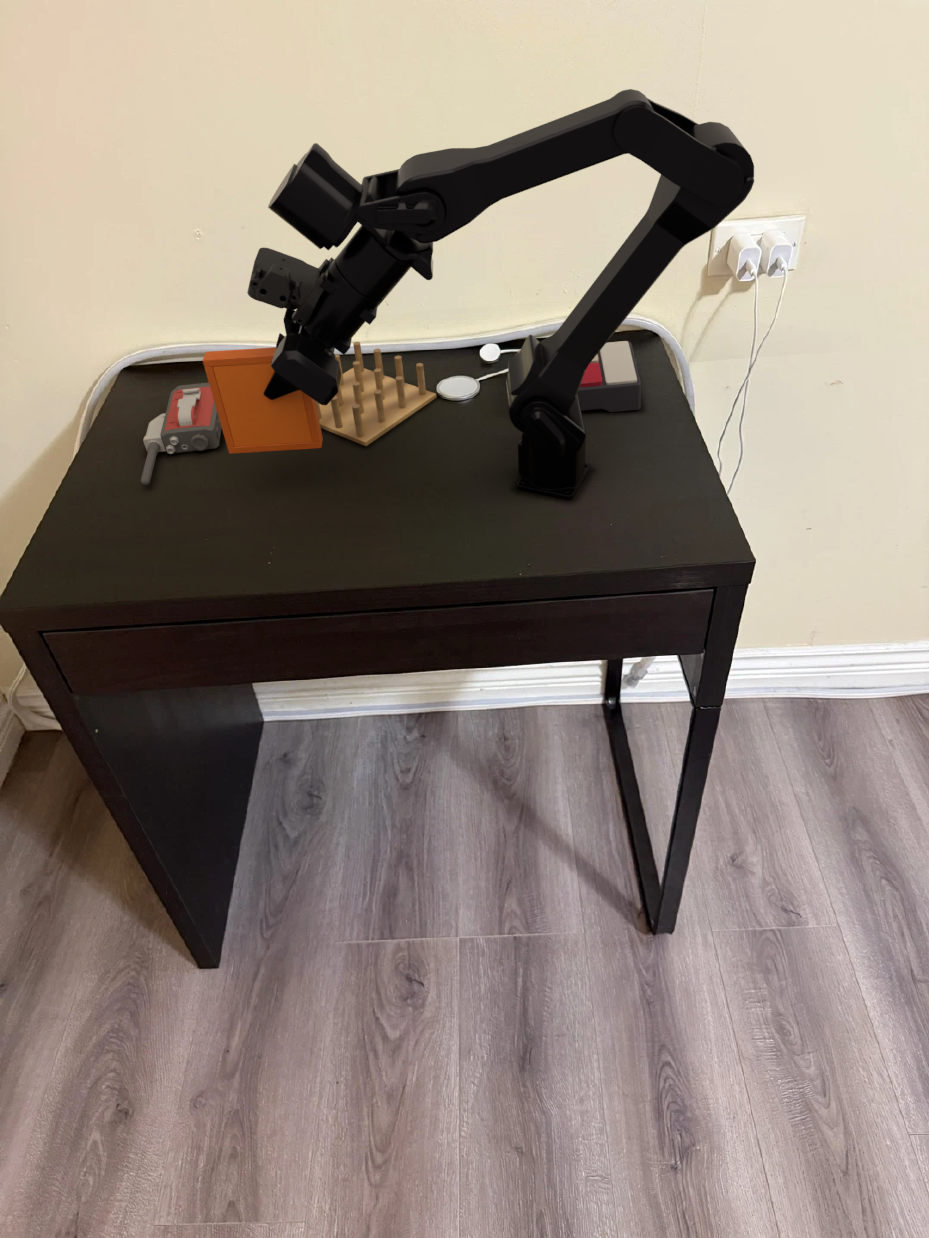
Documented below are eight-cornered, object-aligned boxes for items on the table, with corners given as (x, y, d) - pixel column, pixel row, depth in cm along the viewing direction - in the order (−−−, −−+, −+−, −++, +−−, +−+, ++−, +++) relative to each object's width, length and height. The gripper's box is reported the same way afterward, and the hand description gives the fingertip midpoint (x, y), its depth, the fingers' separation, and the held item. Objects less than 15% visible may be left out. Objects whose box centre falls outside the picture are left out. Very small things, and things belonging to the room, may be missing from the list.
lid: (323, 439, 98) (304, 345, 90) (321, 448, 97) (302, 353, 89) (231, 444, 98) (205, 351, 91) (229, 454, 97) (202, 360, 89)
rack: (436, 397, 115) (433, 364, 112) (366, 446, 108) (360, 413, 105) (357, 369, 122) (352, 337, 119) (285, 413, 115) (278, 381, 112)
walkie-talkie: (161, 405, 118) (138, 494, 104) (151, 374, 115) (126, 461, 101) (228, 397, 119) (215, 485, 104) (220, 367, 116) (205, 452, 101)
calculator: (513, 346, 116) (631, 335, 115) (516, 376, 119) (630, 366, 118) (515, 389, 108) (642, 378, 107) (518, 421, 111) (641, 410, 110)
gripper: (300, 186, 88) (216, 302, 96) (273, 263, 74) (179, 391, 82) (390, 260, 93) (304, 365, 101) (380, 346, 80) (282, 459, 88)
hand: (268, 391), depth 93 cm, fingers closed on lid, 2 cm apart
